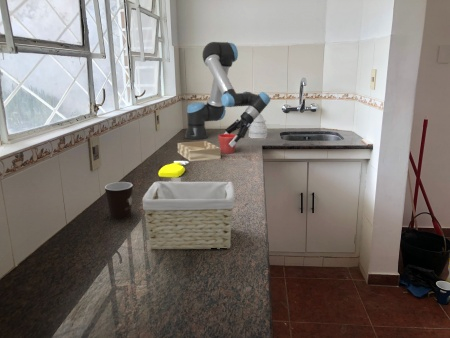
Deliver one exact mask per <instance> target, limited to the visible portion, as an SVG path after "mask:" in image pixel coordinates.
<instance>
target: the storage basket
mask: <svg viewBox="0 0 450 338" xmlns="http://www.w3.org/2000/svg"><path fill="white" fill-rule="evenodd" d="M235 192H236V191H235V187H234V183H233V182H232V181H160V180H159V181H155V182H153V183H152V185H150V187H149V188H148V190H147V191H146V192H145V194H144V195H143V197H142V209H143V210H144V211H145V219H146V220H145V221H146V229H147V235H148V237H149V239H148V240H149V241H148V242H149V248H150V249H151V250H161V249H162V250H205V249H206V250H212V249H211V248H217V249H218V250H221V249H220V248H227V249H230V248H231V246H232V245H231V243H232V242H231V238H232V237H231V235H232V222H233V221H232V220H233V211H234V210H233V208H234V207H235V195H236V194H235Z"/></svg>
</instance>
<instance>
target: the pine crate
mask: <svg viewBox="0 0 450 338" xmlns="http://www.w3.org/2000/svg"><path fill="white" fill-rule="evenodd" d="M177 153H178V154H179V155H180V156H182V157H183V158H184V159H186V160H188V161H189V162H198V161H209V160H218V159H221V156H222V155H221V154H222V153H221V148H220V146H217V145H215V144H213V143H212V142H209V141H207V140H200V141H199V140H198V141H188V142H177Z"/></svg>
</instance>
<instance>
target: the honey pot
mask: <svg viewBox="0 0 450 338" xmlns="http://www.w3.org/2000/svg"><path fill="white" fill-rule="evenodd" d="M266 122H267V120H266V119H264V116H263V114H261V113H260V114H259V115H258V117H256V119H254V121H253V122H252V123H251V124H250V127H249V128H248V138H249V137H250V139H253V138H264V139H267V138H268V128H267V124H266ZM266 137H267V138H266Z"/></svg>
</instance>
